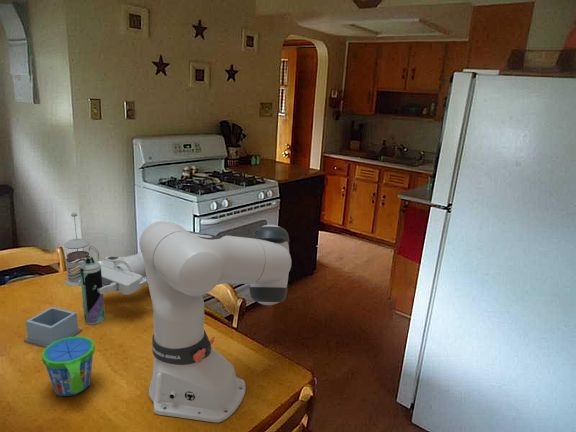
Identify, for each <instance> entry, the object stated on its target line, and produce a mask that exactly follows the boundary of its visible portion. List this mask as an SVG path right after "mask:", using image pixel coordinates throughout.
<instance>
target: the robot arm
mask: <svg viewBox="0 0 576 432" xmlns="http://www.w3.org/2000/svg"><path fill="white" fill-rule="evenodd" d="M289 242H290V237H289V232H288V231H287V230H286V229H285V228H284V227H281V226H278V225H276V224H265V225H262V226H258V227H257V228H255V230H253V232H252V237H244V236H234V235H233V236H232V235H225V236H224V235H223V236H222V237H220V236H217V235H214V234H210V233H206V232H205V233H204V232H199V231H198V232H197V231H192V230H187V229H185V227H184V226H181V225H180V224H178V223H173V222H169V221H163V220H162V221H156V222H155V221H154V222H153V223H151V224H149V225H148V226H147V227H145V229H144V230H143V231H142V233H141V235H140V237H139V249H140V251H138V252H137V253H136V254H130V255H128V256H119V257H118V256H106V257H104V259H103V260H98V262H97V261H96V262H97V263H100V266H101V274H102V286H100V287H98V288H97V290H98V291H97V292H98V293H100V294H103V295H104V294H106V293H113V292H118V293H120V294H121V295H122V294H123V295H125V296H126V295H131V294H133V293H135V292H137V291H138V290H140V289H141V288H142V287H143V285H145V284H147V285H148V289H149V295H150V299H151V304H152V316H153V317H152V318H153V319H152V320H153V321H152V322H153V335H152V336H151V338H152V339H151V341H152V342H151V344H152V345H151V346H152V347H151V348H152V351H151V352H152V354H153V367H152V376H151V379H150V384H149V387H148V395H149V398H150V400H151V401H152V403H153V413H155V414H156V415H158V416H159V415H161V416H168V417H176V418H181V419H189V420H196V421H203V422H210V423H218V424H219V423H222V422H224V421H225V420H227V419H228V418H230V417H231V416H232V415H233V414H234V413H235V412H236V410H238V408H239V406H240V405H241V403H242V401H243V400H244V397H245V395H246V382H245V380H244V379H242V378H240V377H238V376H236V375H237V374H236V370H235V367H234V365H233V363H231V362H230V361H229V360H227V359H226V357H224V355H223V354H222V353H219V352H218V351H217V350H216V349H214V347H213V346H212V345H213V344H214V343H215V336H212V338H211V339H209V336H208V334H207V331H206V330H205V301H204V298H203V295H206V294H208V293H210V292H212V291H213V289H214V288H215V287H216V286H218V285H224V284H232V285H238V284H239V285H242V284H243V285H248V284H249V285H250V286H249V287H248V289H249V293H250V294H249V295H250V298H251V299H252V300H253V302H257V303H259V304H261V305H263V306H264V305H265V306H272V305H273V306H274V305H276V304H279V303H282V302H283V301H285V299H286V297H287V295H288V289H289V288H288V281H289V272H290V271H291V268H292V257H291V254H290V245H289ZM78 283H79V286H80V287H81V288H82V286H81V280H79V281H78ZM79 286H78V287H79Z"/></svg>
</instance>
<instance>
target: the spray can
mask: <svg viewBox="0 0 576 432" xmlns="http://www.w3.org/2000/svg"><path fill="white" fill-rule="evenodd" d="M85 259H86V262H85V263H84V264H82V265H79V267H80V269H79V270H80V276H81V286H82V287H81V286H80V287H81V295H82V306H83V316H84V317H83V318H84V323H85V324H86V325H89V326H95V325H99V324H102V323H103V322H104V321H105V320H106V319H105V318H106V317H105V316H106V315H105V313H106V312H105V303H104V302H105V301H104V294H100V293H98V292H97V291H98V290H97V288H98V287H100V286H102V274H101V266H100V263H97V261H96V260H94V257H92V256H90V258H85Z"/></svg>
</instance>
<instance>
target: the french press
mask: <svg viewBox="0 0 576 432" xmlns="http://www.w3.org/2000/svg"><path fill="white" fill-rule="evenodd" d="M71 217H73V219H74V221H76V217H78V212H77V213H76V212H72V213H71ZM76 225H77V224H76V223H74V230H75V232H77V226H76ZM89 245H90V241H89V240H87V239H85V238H78V236H77V234H75V238H72V239H70V240H68V241H66V242H65V243H64V244H63V247H64V248H65V249H68V250H75V251H71V252H68V253H67V254H66V259H65V263H66V271H67V272H66V273H67V278H66V279H65V280H64V283H65V285H66V286H72V287H79V283H78V281H79V280H81V276H80V266H81V265H82V264H84V263H85V262H86V258H90V257H91V256H90V251H91V250H93V251H94V252H95V253H96V254H97V260H96V262H98V261H100V251H98V249H97V248H96V247H94V246H92V245H90V246H89ZM88 246H89V248H88V251H85V250H79V249H85V248H86V247H88Z"/></svg>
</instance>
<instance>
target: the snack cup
mask: <svg viewBox="0 0 576 432" xmlns="http://www.w3.org/2000/svg"><path fill="white" fill-rule="evenodd" d="M95 347H96V346H95V343H94V341H93V340H92V339H91V338H89V337H86V336H77V335H76V336H74V337H67V338H64V339H60V340H58V341H55V342H53V343H52V344H50V345H49V346H47V347H46V348H44V349H43V350H42V352H41V361H42V363H43V364H44V365H45V368H46V371H47V374H48V377H49V380H50V381H51V382H50V383H51V385H52V387H53V391H54V392H55V393H56V394H57V395H58V396H63V397H67V396H69V397H70V396H76V395H78V394H79V393H82V392H83V391H84V390H86V389H87V388H88V387H89V386H90V384H91V379H92V368H93V360H94V359H93V358H94V357H93V356H94V354H95Z"/></svg>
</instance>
